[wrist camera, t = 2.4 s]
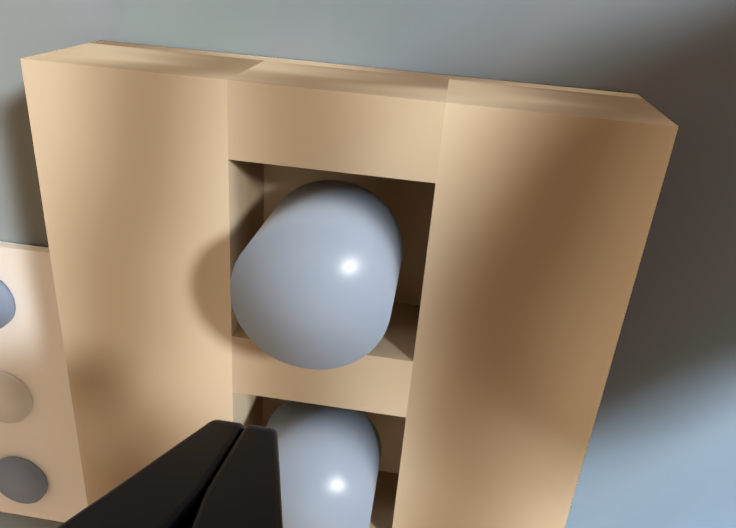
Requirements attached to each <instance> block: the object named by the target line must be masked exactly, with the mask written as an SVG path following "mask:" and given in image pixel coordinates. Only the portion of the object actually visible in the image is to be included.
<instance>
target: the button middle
mask: <svg viewBox="0 0 736 528" xmlns="http://www.w3.org/2000/svg"><path fill="white" fill-rule="evenodd" d="M266 427H270V428H274V429H276V431H277V433H278V448H279V465H280V483H281V500H282V518H283V528H369V524H370V518H371V512H372V506H373V501H374V495H375V489H376V483H377V477H378V471H379V465H380V459H381V453H382V445H381V439H380V436H379V433H378V431H377V429H376V427H375V426H374V424H373V423H372V421H371V420H370V419H369V418H368V417H367V416H366V415H365V414H364V413H363V412H362V411H358V410H351V409H345V408H338V407H331V406H324V405H318V404H311V403H304V402H297V401H290V400H289V401H287V402H286V403H284V404H282V405H281V406H280V407H278V408H277V409H276V410H275V411H274V412H273V414H272V415H271V417H270V419H269V421H268V423H267V425H266Z"/></svg>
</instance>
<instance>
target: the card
mask: <svg viewBox="0 0 736 528" xmlns="http://www.w3.org/2000/svg"><path fill="white" fill-rule="evenodd" d="M87 506H88V503H87V497H86V490H85V484H84V477H83V470H82V464H81V457H80V450H79V444H78V437H77V431H76V424H75V417H74V411H73V404H72V397H71V391H70V384H69V378H68V371H67V364H66V358H65V351H64V344H63V338H62V331H61V325H60V318H59V311H58V305H57V298H56V291H55V285H54V278H53V271H52V265H51V258H50V252H49V248H48V247H40V246H33V245H25V244H17V243H10V242H2V241H0V512H6V513H12V514H18V515H23V516H29V517H35V518H41V519H47V520H53V521H59V522H66V521H67V520H68V519H70V518H71V517H73V516H74V515H76V514H77V513H79V512H80V511H81V510H83V509H84V508H86V507H87Z"/></svg>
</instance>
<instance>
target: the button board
mask: <svg viewBox="0 0 736 528" xmlns="http://www.w3.org/2000/svg"><path fill="white" fill-rule="evenodd" d="M20 59H21V66H22V73H23V79H24V86H25V93H26V99H27V106H28V112H29V119H30V126H31V132H32V139H33V146H34V152H35V159H36V165H37V172H38V179H39V185H40V192H41V199H42V205H43V212H44V218H45V225H46V232H47V238H48V245H49V252H50V258H51V265H52V271H53V278H54V285H55V291H56V298H57V305H58V311H59V318H60V325H61V331H62V338H63V344H64V351H65V358H66V364H67V371H68V378H69V384H70V391H71V397H72V404H73V411H74V417H75V424H76V431H77V437H78V444H79V450H80V457H81V464H82V470H83V477H84V484H85V490H86V497H87V503H88V506H89V505H90V504H92V503H93V502H94V501H96V500H97V499H99V498H100V497H102V496H103V495H105V494H106V493H107V492H109V491H110V490H112V489H113V488H115V487H116V486H118V485H119V484H121V483H122V482H123V481H125V480H126V479H128V478H129V477H131V476H132V475H134V474H135V473H136V472H138V471H139V470H141V469H142V468H144V467H145V466H147V465H148V464H149V463H151V462H152V461H154V460H155V459H157V458H158V457H160V456H161V455H162V454H164V453H165V452H167V451H168V450H170V449H171V448H173V447H174V446H175V445H177V444H178V443H180V442H181V441H183V440H184V439H186V438H187V437H188V436H190V435H191V434H193V433H194V432H196V431H197V430H199V429H200V428H201V427H203V426H204V425H206V424H207V423H209V422H210V421H213V420H224V421H231V422H237V423H241V424H243V425H244V426H245V427H246V426H248V425H257V426H264V427H266V425H267V423H268V421H269V419H270V417H271V415H272V414H273V412H274V411H275V410H276V409H277V408H278V407H280V406H281V405H282V404H284V403H286V402H287V401H289V400H290V401H297V402H304V403H311V404H318V405H324V406H331V407H338V408H345V409H351V410H358V411H362V412H363V413H364V414H365V415H366V416H367V417H368V418H369V419H370V420H371V421H372V423H373V424H374V426H375V427H376V429H377V431H378V433H379V436H380V439H381V445H382V453H381V459H380V465H379V471H378V477H377V483H376V489H375V495H374V501H373V506H372V512H371V518H370V524H369V528H565V524H566V521H567V517H568V514H569V510H570V507H571V503H572V500H573V496H574V493H575V489H576V486H577V482H578V479H579V475H580V472H581V468H582V465H583V461H584V458H585V454H586V451H587V447H588V444H589V440H590V437H591V433H592V430H593V426H594V423H595V419H596V416H597V412H598V409H599V405H600V402H601V398H602V395H603V391H604V387H605V384H606V380H607V377H608V373H609V370H610V366H611V363H612V359H613V356H614V352H615V349H616V345H617V342H618V338H619V335H620V331H621V328H622V324H623V321H624V317H625V314H626V310H627V307H628V303H629V300H630V296H631V293H632V289H633V286H634V282H635V279H636V275H637V272H638V268H639V265H640V261H641V258H642V254H643V251H644V247H645V244H646V240H647V237H648V233H649V230H650V226H651V223H652V219H653V216H654V212H655V209H656V205H657V202H658V198H659V195H660V191H661V188H662V184H663V181H664V177H665V173H666V170H667V166H668V163H669V159H670V156H671V152H672V149H673V145H674V142H675V138H676V135H677V131H678V128H679V126H677V125H676V124H675V123H673V122H672V121H671V120H670V119H668V118H667V117H666V116H665V115H663V114H662V113H661V112H660V111H658V110H657V109H656V108H654V107H653V106H652V105H651V104H649V103H648V102H647V101H646V100H644V99H643V98H642V97H640V96H639V95H638V94H632V93H622V92H612V91H602V90H592V89H582V88H572V87H562V86H552V85H542V84H532V83H522V82H512V81H502V80H492V79H482V78H472V77H462V76H452V75H442V74H432V73H422V72H412V71H402V70H392V69H382V68H372V67H362V66H352V65H342V64H332V63H322V62H312V61H302V60H292V59H282V58H272V57H262V56H252V55H242V54H232V53H222V52H212V51H202V50H192V49H182V48H172V47H162V46H152V45H142V44H132V43H121V42H111V41H101V40H100V41H96V42H91V43H87V44H82V45H78V46H74V47H69V48H65V49H60V50H56V51H51V52H47V53H43V54H38V55H34V56H29V57H25V58H20ZM320 180H340V181H345V182H349V183H353V184H356V185H358V186H360V187H363V188H365V189H367V190H368V191H370V192H371V193H373V194H374V195H376V196H377V197H378V198H379V199H381V200H382V201H383V202H384V203H385V204H386V205H387V207H388V208H389V209H390V211H391V212H392V213H393V215H394V217H395V218H396V220H397V222H398V225H399V227H400V230H401V234H402V238H403V258H402V264H401V269H400V273H399V278H398V283H397V288H396V293H395V297H394V302H393V307H392V312H391V317H390V321H389V324H388V327H387V330H386V332H385V334H384V336H383V337H382V339H381V340H380V342H379V343H378V344H377V346H376V347H375V348H374V349H373V350H372V351H371V352H369V353H368V354H367V355H366V356H364V357H363V358H361V359H359V360H358V361H356V362H354V363H351V364H349V365H346V366H343V367H339V368H334V369H327V370H314V369H305V368H300V367H296V366H292V365H289V364H286V363H284V362H282V361H279V360H277V359H275V358H274V357H272V356H270V355H269V354H267V353H266V352H264V351H263V350H262V349H260V348H259V347H258V346H257V345H256V344H255V343H254V342H253V341H252V340H251V339H250V338H249V337H248V336H247V334H246V333H245V332H244V330H243V329H242V327H241V326H240V324H239V322H238V320H237V318H236V316H235V313H234V310H233V307H232V303H231V296H230V280H231V276H232V271H233V268H234V266H235V263H236V261H237V259H238V258H239V256H240V254H241V253H242V252H243V250H244V249H245V248H246V246H247V245H248V244H249V242H250V241H251V240H252V238H253V237H254V236H255V234H256V233H257V232H258V230H259V229H260V228H261V226H262V225H263V224H264V223H265V221H266V220H267V219H268V217H269V216H270V215H271V213H272V212H273V211H274V209H275V208H276V207H277V205H278V204H279V203H280V202H281V200H282V199H283V198H284V197H285V196H286V195H288V194H289V193H290V192H292V191H293V190H294V189H296V188H298V187H300V186H302V185H305V184H308V183H310V182H315V181H320Z"/></svg>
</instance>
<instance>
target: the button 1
mask: <svg viewBox="0 0 736 528" xmlns="http://www.w3.org/2000/svg"><path fill="white" fill-rule="evenodd" d="M402 258H403V238H402V234H401V230H400V227H399V225H398V222H397V220H396V218H395V217H394V215H393V213H392V212H391V211H390V209H389V208H388V207H387V205H386V204H385V203H384V202H383V201H382V200H381V199H379V198H378V197H377V196H376V195H374V194H373V193H371V192H370V191H368V190H367V189H365V188H363V187H360V186H358V185H356V184H353V183H349V182H345V181H340V180H320V181H315V182H310V183H308V184H305V185H302V186H300V187H298V188H296V189H294V190H293V191H292V192H290V193H289V194H288V195H286V196H285V197H284V198H283V199H282V200H281V202H280V203H279V204H278V205H277V207H276V208H275V209H274V211H273V212H272V213H271V215H270V216H269V217H268V219H267V220H266V221H265V223H264V224H263V225H262V226H261V228H260V229H259V230H258V232H257V233H256V234H255V236H254V237H253V238H252V240H251V241H250V242H249V244H248V245H247V246H246V248H245V249H244V250H243V252H242V253H241V254H240V256H239V258H238V259H237V261H236V263H235V266H234V268H233V271H232V276H231V280H230V296H231V303H232V307H233V310H234V313H235V316H236V318H237V320H238V322H239V324H240V326H241V327H242V329H243V330H244V332H245V333H246V334H247V336H248V337H249V338H250V339H251V340H252V341H253V342H254V343H255V344H256V345H257V346H258V347H259V348H260V349H262V350H263V351H264V352H266V353H267V354H269V355H270V356H272V357H274V358H275V359H277V360H279V361H282V362H284V363H286V364H289V365H292V366H296V367H300V368H305V369H314V370H327V369H334V368H339V367H343V366H346V365H349V364H351V363H354V362H356V361H358V360H359V359H361V358H363V357H364V356H366V355H367V354H368V353H369V352H371V351H372V350H373V349H374V348H375V347H376V346H377V344H378V343H379V342H380V340H381V339H382V337H383V336H384V334H385V332H386V330H387V327H388V324H389V321H390V317H391V312H392V307H393V302H394V297H395V293H396V288H397V283H398V278H399V273H400V269H401V264H402Z"/></svg>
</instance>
